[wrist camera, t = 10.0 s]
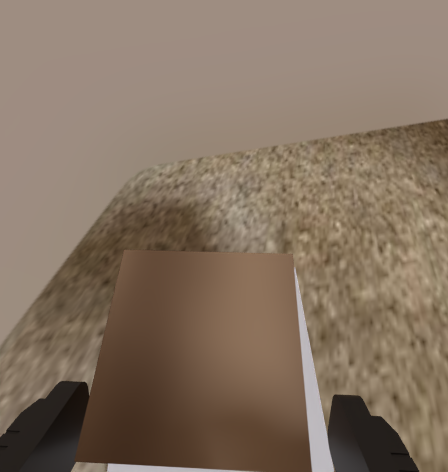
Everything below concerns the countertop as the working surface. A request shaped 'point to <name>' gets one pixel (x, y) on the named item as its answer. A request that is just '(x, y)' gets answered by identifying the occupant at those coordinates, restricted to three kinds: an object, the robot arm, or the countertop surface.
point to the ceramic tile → (316, 424)
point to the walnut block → (200, 366)
